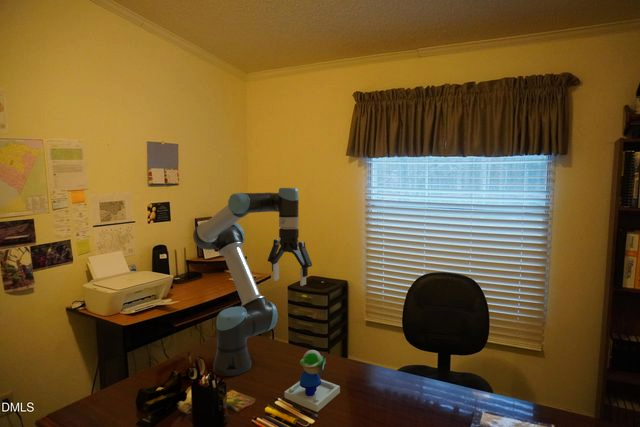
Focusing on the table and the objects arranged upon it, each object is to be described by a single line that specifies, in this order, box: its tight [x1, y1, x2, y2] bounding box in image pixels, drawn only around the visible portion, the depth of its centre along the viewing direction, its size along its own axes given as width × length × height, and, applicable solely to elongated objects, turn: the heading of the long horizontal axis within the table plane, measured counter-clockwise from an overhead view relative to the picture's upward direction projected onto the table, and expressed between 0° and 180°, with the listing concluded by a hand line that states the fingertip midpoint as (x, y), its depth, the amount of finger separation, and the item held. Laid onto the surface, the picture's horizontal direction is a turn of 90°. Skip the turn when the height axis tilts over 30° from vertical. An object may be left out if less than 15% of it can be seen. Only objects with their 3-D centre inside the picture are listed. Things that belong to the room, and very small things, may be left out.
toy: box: [299, 349, 327, 396], centre depth 128 cm, size 9×9×15 cm
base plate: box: [284, 378, 341, 413], centre depth 128 cm, size 14×14×3 cm
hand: (289, 282), depth 141 cm, fingers open, 13 cm apart
